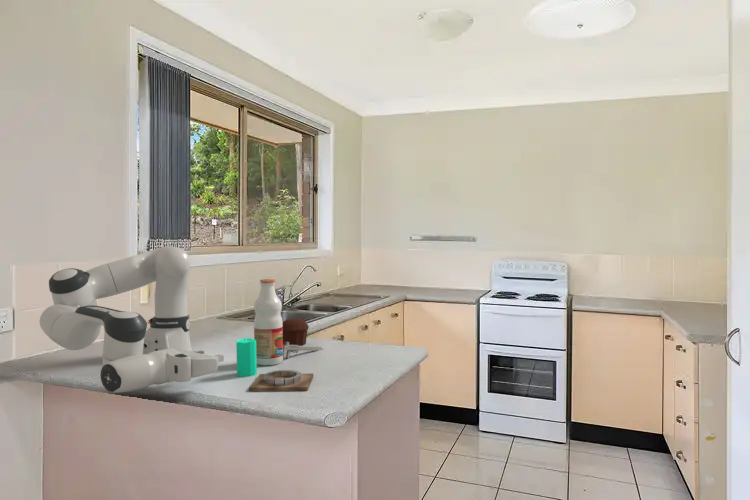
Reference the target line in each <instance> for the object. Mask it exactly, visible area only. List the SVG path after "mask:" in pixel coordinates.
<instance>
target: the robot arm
mask: <svg viewBox="0 0 750 500" xmlns="http://www.w3.org/2000/svg"><path fill="white" fill-rule="evenodd" d="M190 271H191V259H190V256H189V254H188V252H187V251H185V250H184V249H183V248H180V247H177V246H168V245H167V246H162V247H158V248H156V249H151V250H148V251H146V252H142V253H139V254H136V255H133V256H129V257H126V258H122V259H119V260H114V261H111V262H108V263H104V264H100V265H97V266H95V267H92V268H90V269H88V270H85V271H84V270H82V269H79V268H74V267H73V268H71V267H70V268H64V269H62V270H59V271H56V272H55V273H54V274H53V275H51V276H50V278H49V279H48V288H49V289H48V290H49V292H50V293H51V297H52V301H53V304H52V305H50V306H48V307H46V309H44V310H43V311H42V313H41V315H40V317H39V326H40V329H41V330H42V332H44V334H45V335H46V336H47V337H48V338H49V339H50V340H51V341H53V342H54V343H56V344H57V345H58V346H60V347H62V348H63V349H66V350H70V351H79V350H83V349H85V348H88V347H89V346H90V345H92V344H93V343H94V342H96V340H97V339H98V337H99V336H100V333H101V329H102V326H103V331H104V338H103V347H102V356H101V369H100V381H101V384H102V386H103V387H104V389H105V390H107V392H109V393H114V394H115V393H128V392H133V391H137V390H139V391H140V390H142V389H146V388H149V386H152V385H157V386H158V385H163V384H168V383H173V382H175V383H176V382H178V383H179V382H180V383H183V382H184V383H185V382H190V381H191V380H192V378H198V377H203V376H206V375H210V374H211V373H215V372H216V371H217V370H218V369H219V363H222V362H224V360H225V359H224V358H225V357H224V355H223V354H216V355H215V356H214V355H208V354H205V351H204V350H194V349H193V347H192V346H193V345H192V343H191V338H190V327H191V320H190V315H189V302H188V301H189V297H188V293H189V292H188V291H189V283H190V273H191V272H190ZM152 283H155V286H154V287H155V288H154V316H153V317H151V318H150V319H149V320H147V321H146V319H145V318H144V317H143V316H142V315H141V314H140V313H138V312H134V311H123V310H119V309H114V308H109V307H106V306H99V305H98V303H97V300H99V299H104V298H105V299H106V298H110V297H113V296H117V295H120V294H124V293H127V292H130V291H134V290H137V289H140V288H143V287H145V286H147V285H149V284H152ZM148 324H149V328H147V327H148Z"/></svg>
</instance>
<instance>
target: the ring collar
mask: <svg viewBox="0 0 750 500" xmlns="http://www.w3.org/2000/svg"><path fill="white" fill-rule="evenodd" d="M264 374H265V375H264V382H265V383H266V384H269V385H275V386H277V385H290V384H295V383H297V382H300V381H301V374H302V373H301V372H300V371H298V370H293V369H281V370H273V371H269V372H266V373H264ZM281 376H289V377H291V378H284V379H276V378H275V377H281Z"/></svg>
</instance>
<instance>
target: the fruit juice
mask: <svg viewBox="0 0 750 500" xmlns="http://www.w3.org/2000/svg"><path fill="white" fill-rule="evenodd" d="M259 281H260V282H259V283H260V287H261V288H260V293H259V295H258V297H257V299H256V300H255V301H254V304H253V310H254V314H255V317H254V319H253V320H254V321H253V336H254V337H253V339H254V340H256V359H257V366H266V367H267V366H269V367H270V366H277V365H279V364H282V363H283V361H284V359H283V322H284V321H283V317H282V314H281V313H282V308H283V303H282V301H281V299H280V298H279V296H277V293H276V290H275V289H276V288H275V285H276V279H275V278H262V279H260V280H259Z"/></svg>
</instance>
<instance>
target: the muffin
mask: <svg viewBox="0 0 750 500" xmlns="http://www.w3.org/2000/svg"><path fill="white" fill-rule="evenodd" d="M282 322H283V345H284V342H289V345H299V346H304V345H305V346H306V345H307V336H308V331H309V327H310V326H309V325H308V323H307V322H306V321H305V320H303V319H301V318H297V317H295V318H294V317H292V318H288V319H285V320H284V321H282Z"/></svg>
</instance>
